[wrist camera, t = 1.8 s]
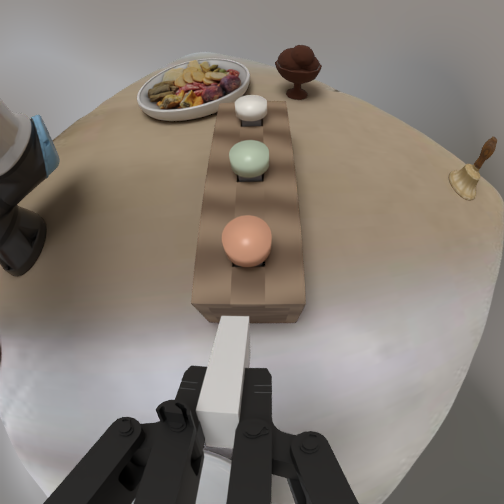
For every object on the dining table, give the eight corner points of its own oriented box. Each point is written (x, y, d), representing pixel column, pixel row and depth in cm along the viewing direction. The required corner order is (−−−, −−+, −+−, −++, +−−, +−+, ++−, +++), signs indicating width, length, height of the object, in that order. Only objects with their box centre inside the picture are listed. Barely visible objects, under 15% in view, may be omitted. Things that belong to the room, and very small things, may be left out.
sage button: (269, 196, 37) (269, 166, 32) (232, 197, 37) (227, 167, 32) (268, 170, 39) (268, 139, 34) (234, 170, 39) (230, 140, 34)
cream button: (267, 139, 42) (267, 110, 37) (237, 140, 42) (233, 111, 37) (267, 122, 44) (266, 94, 39) (238, 122, 45) (235, 95, 39)
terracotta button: (271, 280, 32) (272, 258, 26) (228, 280, 32) (220, 259, 26) (270, 242, 34) (271, 214, 28) (230, 242, 34) (223, 215, 29)
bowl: (121, 120, 62) (111, 98, 55) (184, 68, 73) (180, 49, 66) (211, 137, 55) (205, 108, 48) (268, 78, 66) (268, 55, 59)
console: (295, 322, 37) (305, 303, 28) (209, 322, 37) (191, 303, 28) (284, 140, 53) (285, 101, 44) (225, 142, 53) (219, 103, 44)
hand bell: (478, 204, 44) (515, 159, 30) (453, 195, 45) (488, 144, 31) (470, 177, 48) (500, 132, 33) (445, 167, 49) (474, 118, 35)
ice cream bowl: (321, 90, 62) (326, 42, 48) (311, 109, 58) (317, 55, 44) (283, 81, 64) (284, 35, 51) (269, 100, 60) (268, 47, 46)
